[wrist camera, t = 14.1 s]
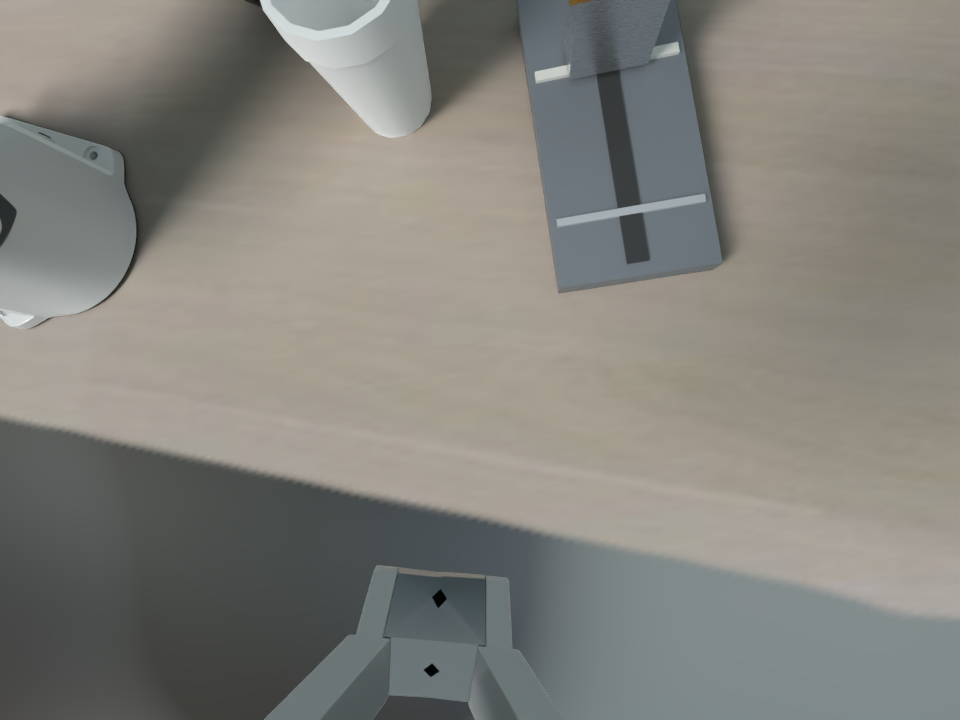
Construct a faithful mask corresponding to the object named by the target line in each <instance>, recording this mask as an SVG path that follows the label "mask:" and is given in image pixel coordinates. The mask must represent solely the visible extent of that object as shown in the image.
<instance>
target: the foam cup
mask: <svg viewBox="0 0 960 720" xmlns="http://www.w3.org/2000/svg"><path fill="white" fill-rule="evenodd" d="M260 2H261V5H262V8H263V11H264V12H265V14H266V15H267V16H268V18H269V19H270V21H271V22H272V23H273V25H274V26H275V28H276V29H277V30H278V32H279V33H280V35H281V36H282V37H283V39H284V40H285V41H286V42H287V43H288V44H289V45H290V46H291V47H292V48H293V49H294V50H295V51H296V52H297V53H298V54H299V55H300V56H301V57H302V58H303V59H304V60H305V61H307V62H309V63H310V64H311V65H312V66H313V67H314V68H315V69H316V70H317V71H318V72H319V73H320V74H321V76H322V77H323V78H324V79H325V80H326V81H327V82H328V83H329V84H330V85H331V86H332V87H333V88H334V89H335V91H336V92H337V93H338V94H339V95H340V96H341V97H342V98H343V99H344V100H345V101H346V102H347V103H348V105H349V106H350V107H351V108H352V109H353V110H354V111H355V112H356V113H357V114H358V115H359V116H360V117H361V119H362V120H363V121H364V122H365V123H366V124H367V125H368V126H369V127H370V128H371V129H372V130H373V131H374V132H375V133H376V134H379V135H382V136H386V137H389V138H396V137H402V136H407V135H409V134H411V133H412V132H414V131H415V130H417V129H418V128H420V127H421V126H422V124H423V123H424V121H425V120H426V118H427V116H428V115H429V113H430V108H431V101H432V96H431V86H430V80H429V73H428V67H427V60H426V54H425V47H424V41H423V34H422V28H421V21H420V15H419V8H418V2H417V0H260Z"/></svg>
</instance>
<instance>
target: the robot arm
mask: <svg viewBox="0 0 960 720" xmlns="http://www.w3.org/2000/svg"><path fill="white" fill-rule="evenodd" d="M135 243H136V219H135V213H134V209H133V206H132V203H131V201H130V198H129V196H128V194H127V191H126V188H125V185H124V161H123V157H122V155H121V154H120V153H119V152H118V151H116V150H114V149H111V148H109V147H107V146H104V145H100V144H97V143H94V142H90V141H87V140H83V139H80V138H76V137H73V136H69V135H66V134H63V133H59V132H56V131H52V130H49V129H45V128H42V127H39V126H35V125H32V124H28V123H25V122H21V121H18V120H15V119H11V118H8V117H4V116H1V115H0V317H1V318H2V319H3V321H4V322H5V323H6V324H8V325H9V326H11V327H15V328H20V329H29V328H32V327H34V326H36V325H38V324H39V323H41V322H43V321H44V320H46V319H48V318H50V317H55V316H63V315H71V314H76V313H79V312H82V311H85V310H87V309H89V308H91V307H93V306H95V305H96V304H98V303H100V302H101V301H102V300H104V299H105V298H106V297H107V296H108V295H109V294H110V293H111V292H112V291H113V290H114V289H115V288H116V286H117V285H118V284H119V283H120V281H121V280H122V278H123V276H124V275H125V273H126V271H127V269H128V267H129V265H130V262H131V259H132V256H133V253H134V248H135ZM388 695H394V696H414V697H430V698H438V699H447V700H456V701H464V702H469V706H470V709H471V711H472V714H473V716H474V718H475V720H564V719H563V717H562V716H561V714H560V713H559V712H558V710H557V708H556V707H555V705H554V703H553V702H552V700H551V699H550V697H549V696H548V694H547V693H546V691H545V690H544V688H543V687H542V685H541V683H540V682H539V680H538V679H537V677H536V676H535V674H534V672H533V671H532V669H531V668H530V666H529V665H528V663H527V661H526V660H525V659H524V657H523V655H522V654H521V652H520V651H519V650H515V649H512V633H511V611H510V591H509V581H508V578H504V577H494V576H485V575H477V574H464V573H451V572H442V573H441V572H433V571H424V570H416V569H408V568H398V567H389V566H380V565H377V566H376V568H375V570H374V572H373V575H372V579H371V582H370V586H369V590H368V593H367V597H366V600H365V604H364V607H363V611H362V615H361V618H360V622H359V625H358V629H357V633H356V635H348V636H347V637H346V638H345V639H344V640H343V641H342V642H341V643H340V644H339V645H338V646H337V647H336V648H335V649H334V650H333V651H332V652H331V653H330V654H329V655H328V656H327V657H326V658H325V659H324V660H323V661H322V662H321V663H320V664H319V665H318V666H317V667H316V668H315V669H314V670H313V671H312V672H311V673H310V674H309V675H308V676H307V677H306V678H305V679H304V680H303V681H302V682H301V683H300V684H299V685H298V686H297V687H296V688H295V689H294V690H293V691H292V692H291V693H290V694H289V695H288V696H287V697H286V698H285V699H284V700H283V701H282V702H281V703H280V704H279V705H278V706H277V707H276V708H275V709H274V710H273V711H272V712H271V713H270V714H269V715H268V716H267V717H266V718H265V719H264V720H373V718H374V717H375V716H376V714H377V713H378V712H379V710H380V709H381V707H382V706H383V704H384V703H385V702H386V700H387V699H388Z"/></svg>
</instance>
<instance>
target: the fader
mask: <svg viewBox="0 0 960 720" xmlns="http://www.w3.org/2000/svg"><path fill="white" fill-rule="evenodd" d="M669 3H670V0H567V9H566V21H565V33H564V50H565V57H566V63H567V70H568V76H569V80H572V79H577V78H582V77H587V76H592V75H597V74H601V73H606V72H611V71H616V70H621V69H626V68H631V67H636V66H640V65H645V64H648V63H649V60H650V57H651V54H652V51H653V49H654V46H655V43H656V40H657V37H658V34H659V31H660V28H661V26H662V23H663V20H664V17H665V14H666V11H667V8H668V5H669Z"/></svg>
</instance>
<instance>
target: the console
mask: <svg viewBox="0 0 960 720" xmlns="http://www.w3.org/2000/svg"><path fill="white" fill-rule="evenodd" d="M566 9H567V0H517V10H518V23H519V30H520V37H521V44H522V50H523V57H524V64H525V71H526V78H527V84H528V91H529V98H530V105H531V111H532V118H533V125H534V132H535V138H536V145H537V152H538V159H539V166H540V172H541V179H542V186H543V193H544V199H545V206H546V213H547V220H548V226H549V233H550V240H551V247H552V253H553V260H554V267H555V274H556V281H557V287H558V293H564V292H571V291H577V290H584V289H590V288H597V287H603V286H610V285H616V284H623V283H629V282H636V281H642V280H649V279H655V278H662V277H668V276H675V275H681V274H688V273H694V272H701V271H707V270H713V269H714V268H716V267H717V266H719V265H720V264H721V263H723V260H722V255H721V249H720V244H719V238H718V232H717V227H716V221H715V216H714V210H713V205H712V199H711V193H710V188H709V182H708V177H707V171H706V166H705V160H704V154H703V149H702V143H701V138H700V132H699V127H698V121H697V115H696V110H695V104H694V99H693V93H692V88H691V82H690V76H689V71H688V65H687V60H686V54H685V49H684V43H683V37H682V32H681V26H680V21H679V15H678V10H677V4H676V0H670V3H669V5H668V8H667V11H666V14H665V17H664V20H663V23H662V26H661V28H660V31H659V34H658V37H657V40H656V43H655V46H654V49H653V51H652V54H651V57H650V60H649V63H648V64H645V65H640V66H636V67H631V68H626V69H621V70H616V71H611V72H606V73H601V74H597V75H592V76H587V77H582V78H577V79H572V80H569V76H568V70H567V63H566V57H565V50H564V33H565V21H566Z"/></svg>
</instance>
